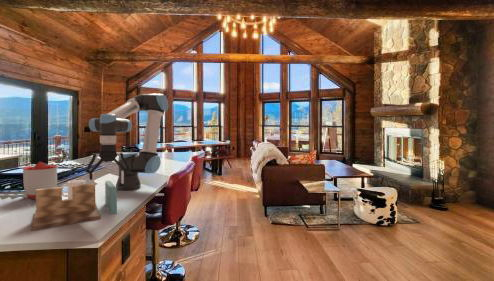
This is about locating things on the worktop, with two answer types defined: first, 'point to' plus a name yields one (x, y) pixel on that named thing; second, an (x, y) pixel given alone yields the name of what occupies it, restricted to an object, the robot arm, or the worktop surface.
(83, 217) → the joint base
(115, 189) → the teal slotted plate
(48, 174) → the citrus juicer
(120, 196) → the worktop surface
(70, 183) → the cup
